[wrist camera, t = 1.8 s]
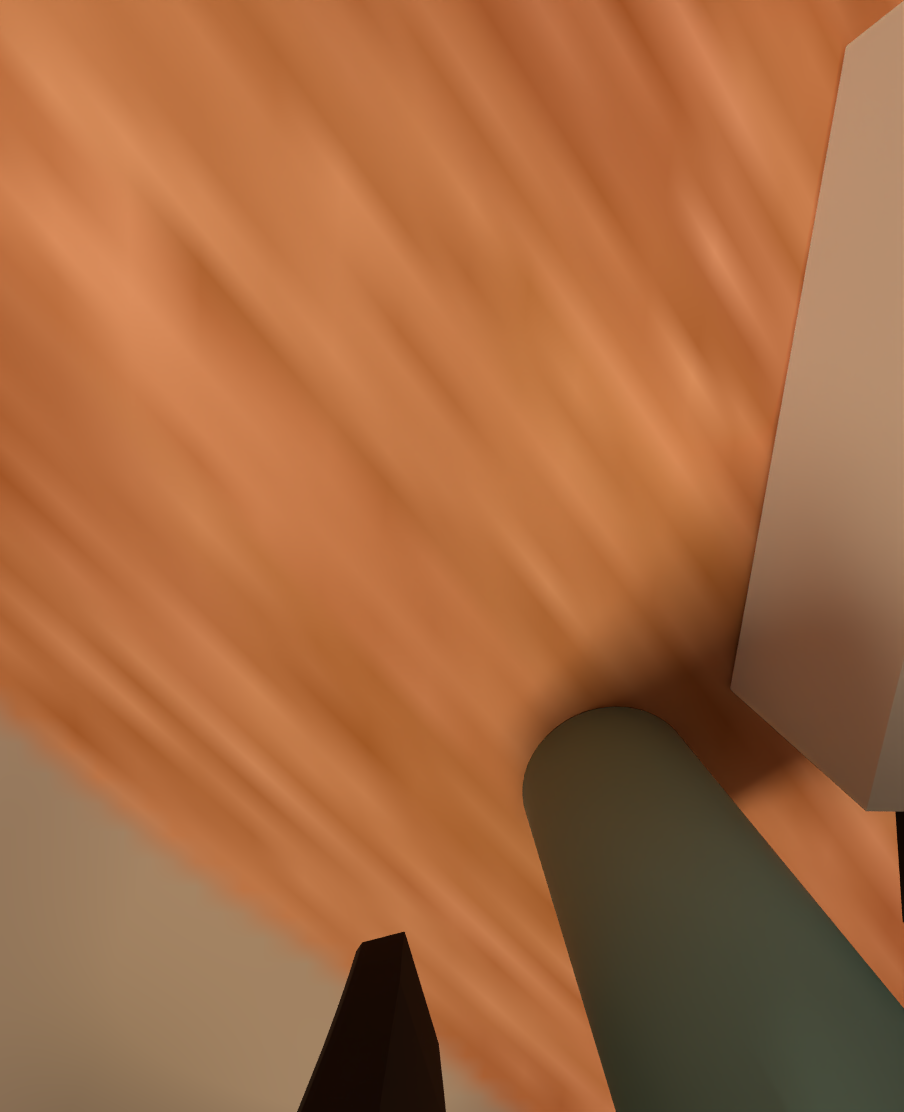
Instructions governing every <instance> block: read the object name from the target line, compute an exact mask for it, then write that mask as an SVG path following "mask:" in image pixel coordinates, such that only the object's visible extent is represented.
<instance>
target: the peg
mask: <svg viewBox="0 0 904 1112" xmlns="http://www.w3.org/2000/svg"><path fill="white" fill-rule="evenodd" d="M523 803H524V808H525V811H526V815H527V818H528V821H529V825H530V828H531V831H532V835H533V838H534V841H535V845H536V848H537V851H538V854H539V858H540V861H541V864H542V868H543V871H544V874H545V878H546V881H547V884H548V888H549V891H550V894H551V898H552V901H553V904H554V908H555V911H556V914H557V917H558V921H559V924H560V927H561V931H562V934H563V937H564V941H565V944H566V947H567V951H568V954H569V957H570V961H571V964H572V967H573V971H574V974H575V977H576V980H577V984H578V987H579V990H580V994H581V997H582V1000H583V1004H584V1007H585V1010H586V1014H587V1017H588V1020H589V1024H590V1027H591V1030H592V1033H593V1037H594V1040H595V1043H596V1047H597V1050H598V1053H599V1057H600V1060H601V1063H602V1067H603V1070H604V1073H605V1077H606V1080H607V1083H608V1087H609V1090H610V1093H611V1096H612V1100H613V1103H614V1106H615V1110H616V1112H904V1008H903V1007H902V1006H901V1004H900V1003H899V1002H898V1001H897V1000H896V998H895V997H894V996H893V995H892V994H891V992H890V991H889V990H888V989H887V987H886V986H885V985H884V984H883V983H882V981H881V980H880V979H879V978H878V977H877V975H876V974H875V973H874V972H873V970H872V969H871V968H870V967H869V966H868V964H867V963H866V962H865V961H864V960H863V958H862V957H861V956H860V955H859V953H858V952H857V951H856V950H855V949H854V947H853V946H852V945H851V944H850V942H849V941H848V940H847V939H846V938H845V936H844V935H843V934H842V933H841V932H840V930H839V929H838V928H837V927H836V925H835V924H834V923H833V922H832V921H831V919H830V918H829V917H828V916H827V915H826V913H825V912H824V911H823V910H822V908H821V907H820V906H819V905H818V904H817V902H816V901H815V900H814V899H813V898H812V896H811V895H810V894H809V893H808V891H807V890H806V889H805V888H804V887H803V885H802V884H801V883H800V882H799V880H798V879H797V878H796V877H795V876H794V874H793V873H792V872H791V871H790V870H789V868H788V867H787V866H786V865H785V863H784V862H783V861H782V860H781V859H780V857H779V856H778V855H777V854H776V853H775V851H774V850H773V849H772V848H771V846H770V845H769V844H768V843H767V842H766V840H765V839H764V838H763V837H762V836H761V834H760V833H759V832H758V831H757V829H756V828H755V827H754V826H753V825H752V823H751V822H750V821H749V820H748V818H747V817H746V816H745V815H744V814H743V812H742V811H741V810H740V809H739V808H738V806H737V805H736V804H735V803H734V801H733V800H732V799H731V798H730V797H729V795H728V794H727V793H726V792H725V791H724V789H723V788H722V787H721V786H720V784H719V783H718V782H717V781H716V780H715V778H714V777H713V776H712V775H711V773H710V772H709V771H708V770H707V769H706V767H705V766H704V765H703V764H702V763H701V761H700V760H699V759H698V758H697V756H696V755H695V754H694V753H693V752H692V750H691V749H690V748H689V747H688V746H687V744H686V743H685V742H684V741H683V739H682V738H681V737H680V736H679V735H678V733H677V732H676V731H675V730H674V729H673V728H672V727H671V726H670V725H669V724H667V723H666V722H665V721H663V720H662V719H660V718H659V717H657V716H655V715H653V714H651V713H648V712H645V711H642V710H639V709H634V708H628V707H605V708H599V709H594V710H591V711H587V712H584V713H582V714H579V715H577V716H574V717H572V718H571V719H569V720H567V721H565V722H564V723H562V724H561V725H559V726H558V727H557V728H555V729H554V730H553V731H552V732H551V733H550V734H549V735H548V736H546V737H545V739H544V740H543V741H542V742H541V743H540V745H539V746H538V747H537V749H536V750H535V752H534V753H533V755H532V757H531V759H530V761H529V763H528V766H527V769H526V772H525V775H524V781H523Z"/></svg>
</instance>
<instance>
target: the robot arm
mask: <svg viewBox="0 0 904 1112" xmlns="http://www.w3.org/2000/svg"><path fill="white" fill-rule="evenodd" d="M896 826H897V842H898V857H899V872H900V887H901V903H902V918H903V922H904V812H901V811H896ZM297 1112H446V1109H445V1099H444V1089H443V1080H442V1070H441V1061H440V1052H439V1043H438V1040H437V1037H436V1033H435V1030H434V1027H433V1024H432V1020H431V1017H430V1014H429V1010H428V1007H427V1004H426V1000H425V997H424V994H423V991H422V987H421V984H420V981H419V977H418V974H417V971H416V967H415V964H414V961H413V958H412V954H411V951H410V948H409V944H408V941H407V938H406V935H405V932H401V933H397V934H393V935H389V936H386V937H382V938H378V939H374V940H370V941H366V942H362V944H361V945H360V947H359V948H358V950H357V951H356V954H355V957H354V960H353V963H352V967H351V970H350V973H349V976H348V979H347V982H346V985H345V988H344V991H343V994H342V996H341V999H340V1002H339V1005H338V1008H337V1011H336V1013H335V1016H334V1019H333V1022H332V1024H331V1027H330V1030H329V1033H328V1035H327V1038H326V1040H325V1043H324V1046H323V1049H322V1051H321V1054H320V1056H319V1059H318V1061H317V1064H316V1066H315V1069H314V1071H313V1074H312V1076H311V1079H310V1081H309V1084H308V1086H307V1088H306V1091H305V1094H304V1096H303V1098H302V1101H301V1103H300V1106H299V1109H298V1111H297Z"/></svg>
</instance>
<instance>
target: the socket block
mask: <svg viewBox="0 0 904 1112" xmlns="http://www.w3.org/2000/svg"><path fill="white" fill-rule="evenodd" d="M730 690H731V691H732V692H734V693H735V694H736V695H737V696H738V697H739V698H740V699H741V700H742V701H744V702H745V703H746V704H747V705H748V706H749V707H750V708H751V709H753V710H754V711H755V712H756V713H757V714H758V715H759V716H760V717H761V718H763V719H764V720H765V721H766V722H767V723H768V724H769V725H770V726H772V727H773V728H774V729H775V730H776V731H777V732H778V733H779V734H781V735H782V736H783V737H784V738H785V739H786V740H787V741H788V742H789V743H791V744H792V745H793V746H794V747H795V748H796V749H797V750H798V751H800V752H801V753H802V754H803V755H804V756H805V757H806V758H807V759H808V760H810V761H811V762H812V763H813V764H814V765H815V766H816V767H817V768H819V769H820V770H821V771H822V772H823V773H824V774H825V775H826V776H827V777H829V778H830V779H831V780H832V781H833V782H834V783H835V784H836V785H838V786H839V787H840V788H841V789H842V790H843V791H844V792H845V793H846V794H848V795H849V796H850V797H851V798H852V799H853V800H854V801H855V802H857V803H858V804H859V805H860V806H861V807H862V808H863V809H864V810H865V811H901V812H904V1H903V2H901V3H900V4H899V5H898V6H896V7H895V8H894V9H893V10H891V11H890V12H889V13H887V14H886V15H885V16H884V17H882V18H881V19H880V20H879V21H877V22H876V23H875V24H874V25H872V26H871V27H870V28H869V29H867V30H866V31H865V32H864V33H862V34H861V35H860V36H858V37H857V38H856V39H855V40H853V41H852V42H851V43H850V44H848V45H847V46H846V50H845V55H844V61H843V66H842V72H841V78H840V83H839V89H838V94H837V100H836V105H835V111H834V116H833V122H832V127H831V133H830V139H829V144H828V150H827V155H826V161H825V166H824V172H823V177H822V183H821V188H820V194H819V199H818V205H817V211H816V216H815V222H814V227H813V233H812V238H811V244H810V249H809V255H808V260H807V266H806V271H805V277H804V283H803V288H802V294H801V299H800V305H799V310H798V316H797V321H796V327H795V332H794V338H793V343H792V349H791V355H790V360H789V366H788V371H787V377H786V382H785V388H784V393H783V399H782V404H781V410H780V416H779V421H778V427H777V432H776V438H775V443H774V449H773V454H772V460H771V465H770V471H769V476H768V482H767V488H766V493H765V499H764V504H763V510H762V515H761V521H760V526H759V532H758V537H757V543H756V548H755V554H754V560H753V565H752V571H751V576H750V582H749V587H748V593H747V598H746V604H745V609H744V615H743V620H742V626H741V632H740V637H739V643H738V648H737V654H736V659H735V665H734V670H733V676H732V681H731V687H730Z"/></svg>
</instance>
